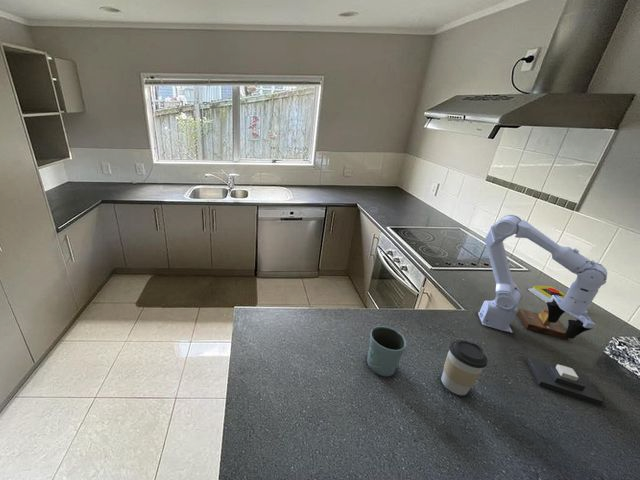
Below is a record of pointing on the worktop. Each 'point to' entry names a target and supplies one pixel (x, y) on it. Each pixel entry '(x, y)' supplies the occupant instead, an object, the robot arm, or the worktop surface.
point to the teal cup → (385, 350)
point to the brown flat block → (541, 324)
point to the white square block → (566, 372)
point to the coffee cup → (463, 366)
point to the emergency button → (546, 292)
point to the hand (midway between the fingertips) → (559, 329)
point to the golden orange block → (544, 317)
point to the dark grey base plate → (563, 381)
